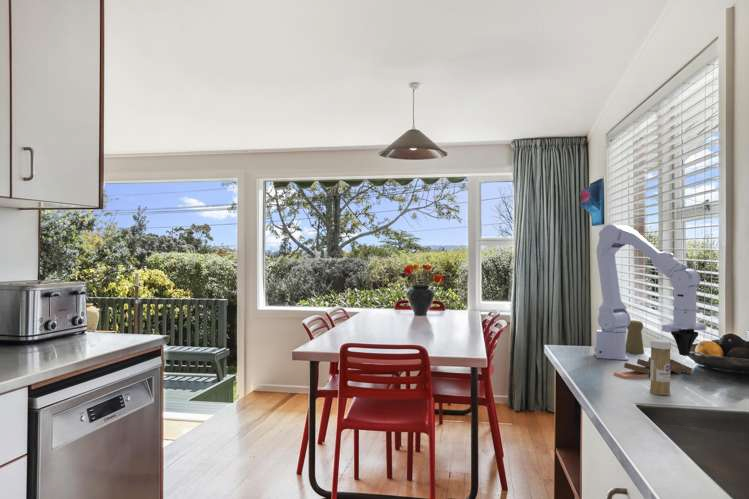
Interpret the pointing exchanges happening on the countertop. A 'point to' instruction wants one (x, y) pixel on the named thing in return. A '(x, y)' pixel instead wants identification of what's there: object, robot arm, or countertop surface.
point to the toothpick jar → (660, 366)
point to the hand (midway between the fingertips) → (684, 355)
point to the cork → (634, 338)
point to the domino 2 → (631, 374)
